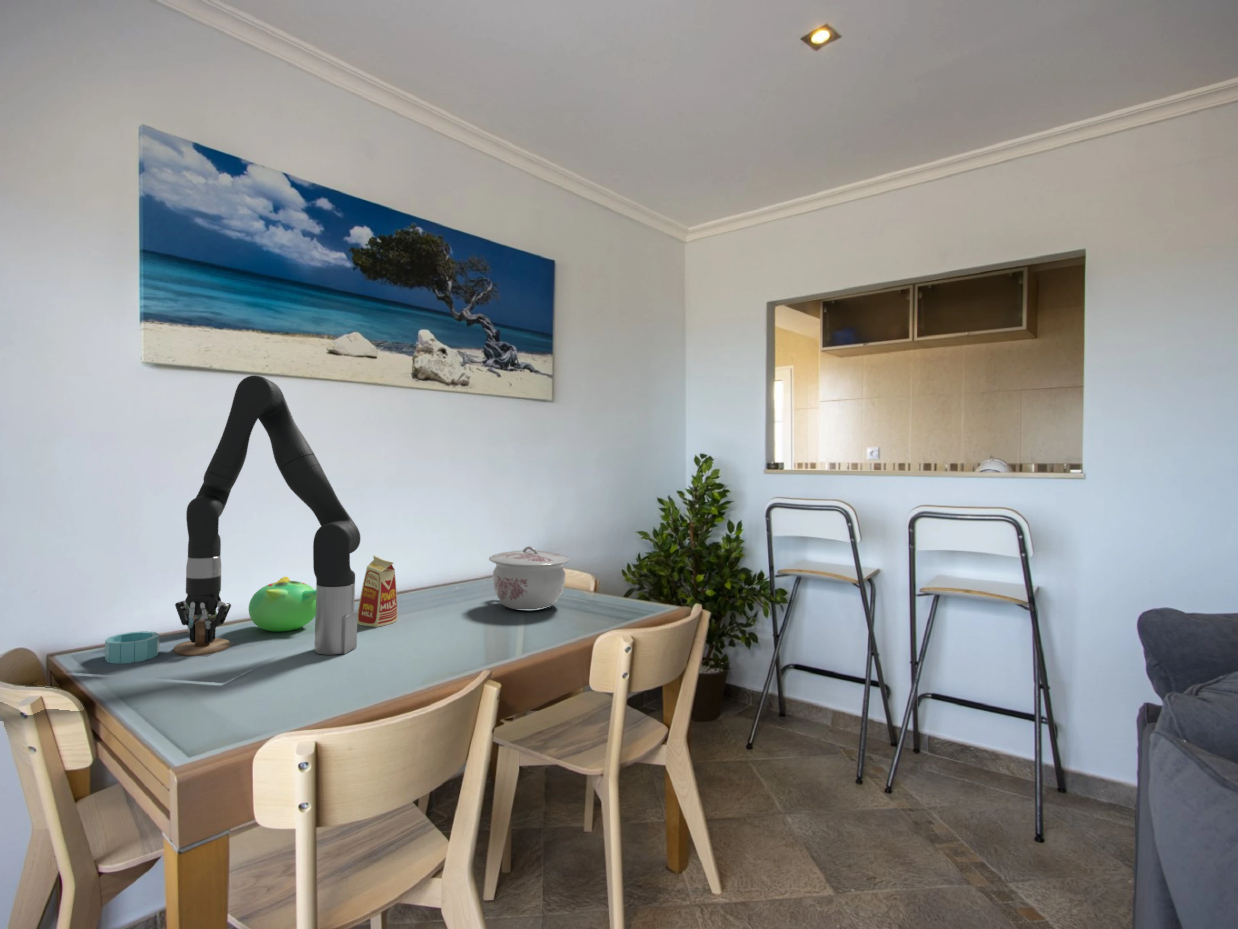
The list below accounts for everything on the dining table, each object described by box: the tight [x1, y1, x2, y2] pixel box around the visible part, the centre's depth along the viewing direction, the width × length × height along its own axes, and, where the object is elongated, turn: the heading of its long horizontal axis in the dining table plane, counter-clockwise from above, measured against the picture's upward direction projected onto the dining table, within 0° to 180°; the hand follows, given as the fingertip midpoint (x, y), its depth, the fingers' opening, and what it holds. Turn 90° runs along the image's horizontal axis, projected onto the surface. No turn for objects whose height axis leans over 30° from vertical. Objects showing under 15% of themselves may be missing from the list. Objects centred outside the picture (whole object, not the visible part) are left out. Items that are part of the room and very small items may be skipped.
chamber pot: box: [488, 545, 571, 610], centre depth 226 cm, size 28×27×21 cm
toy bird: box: [248, 576, 316, 633], centre depth 188 cm, size 18×17×15 cm
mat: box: [164, 642, 238, 657], centre depth 168 cm, size 11×11×1 cm
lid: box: [173, 620, 231, 656], centre depth 168 cm, size 12×12×7 cm
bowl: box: [104, 630, 160, 664], centre depth 160 cm, size 10×10×5 cm
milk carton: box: [357, 555, 399, 628], centre depth 200 cm, size 9×9×20 cm
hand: (202, 642), depth 168 cm, fingers closed on lid, 3 cm apart
